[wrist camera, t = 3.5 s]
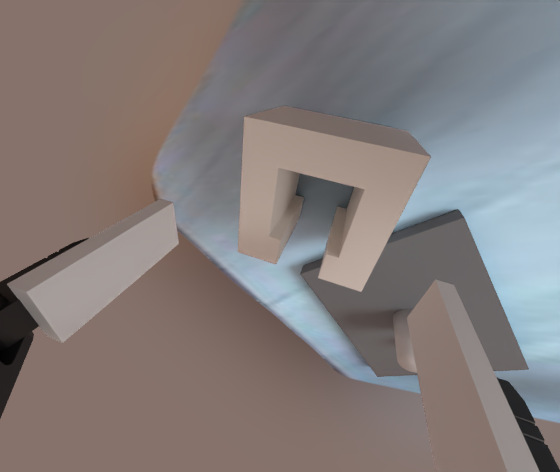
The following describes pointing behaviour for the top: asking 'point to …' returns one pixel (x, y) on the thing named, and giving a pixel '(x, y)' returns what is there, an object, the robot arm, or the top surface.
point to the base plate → (418, 296)
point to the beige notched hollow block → (330, 166)
